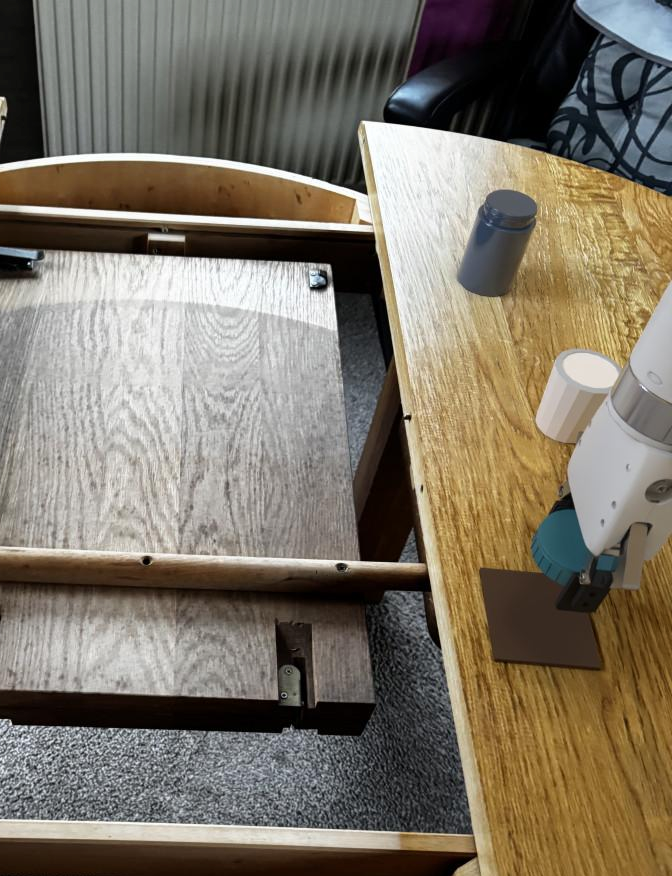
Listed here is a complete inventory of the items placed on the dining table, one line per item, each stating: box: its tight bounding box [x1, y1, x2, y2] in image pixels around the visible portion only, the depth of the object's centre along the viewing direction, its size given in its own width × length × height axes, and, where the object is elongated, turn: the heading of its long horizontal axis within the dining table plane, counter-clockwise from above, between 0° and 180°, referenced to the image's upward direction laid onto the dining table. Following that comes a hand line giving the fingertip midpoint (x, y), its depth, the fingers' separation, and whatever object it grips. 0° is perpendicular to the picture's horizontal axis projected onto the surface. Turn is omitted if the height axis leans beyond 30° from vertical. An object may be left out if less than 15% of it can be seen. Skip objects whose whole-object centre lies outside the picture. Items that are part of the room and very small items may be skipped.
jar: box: [456, 188, 538, 297], centre depth 107 cm, size 7×7×10 cm
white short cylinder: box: [534, 348, 623, 444], centre depth 93 cm, size 7×7×7 cm
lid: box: [530, 509, 621, 586], centre depth 73 cm, size 7×7×2 cm
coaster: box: [478, 567, 602, 671], centre depth 81 cm, size 9×10×1 cm
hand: (565, 571), depth 75 cm, fingers closed on lid, 6 cm apart
